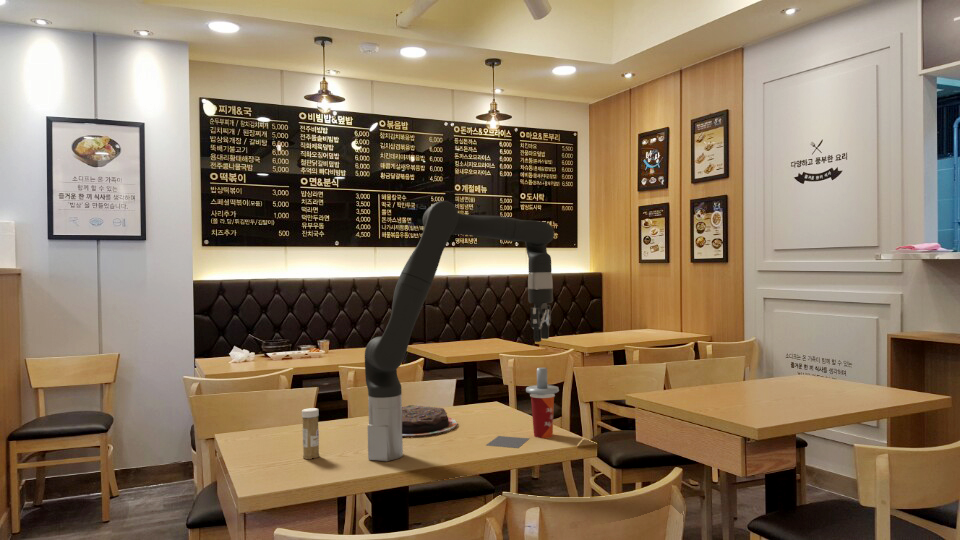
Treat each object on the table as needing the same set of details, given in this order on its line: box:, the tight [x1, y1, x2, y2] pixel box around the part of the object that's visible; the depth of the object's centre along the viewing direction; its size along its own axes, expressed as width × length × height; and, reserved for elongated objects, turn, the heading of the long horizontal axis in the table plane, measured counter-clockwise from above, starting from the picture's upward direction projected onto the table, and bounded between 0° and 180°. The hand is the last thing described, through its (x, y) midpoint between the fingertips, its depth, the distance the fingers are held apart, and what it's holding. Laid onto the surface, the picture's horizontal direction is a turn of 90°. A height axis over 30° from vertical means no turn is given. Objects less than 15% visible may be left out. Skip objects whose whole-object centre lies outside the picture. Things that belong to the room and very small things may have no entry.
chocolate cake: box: [402, 404, 458, 439], centre depth 211 cm, size 28×28×7 cm
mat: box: [485, 435, 530, 449], centre depth 188 cm, size 11×10×1 cm
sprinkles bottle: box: [301, 407, 320, 460], centre depth 178 cm, size 5×5×14 cm
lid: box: [525, 367, 560, 394], centre depth 195 cm, size 10×10×7 cm
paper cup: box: [529, 393, 556, 439], centre depth 195 cm, size 8×8×14 cm
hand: (541, 340), depth 195 cm, fingers open, 8 cm apart
